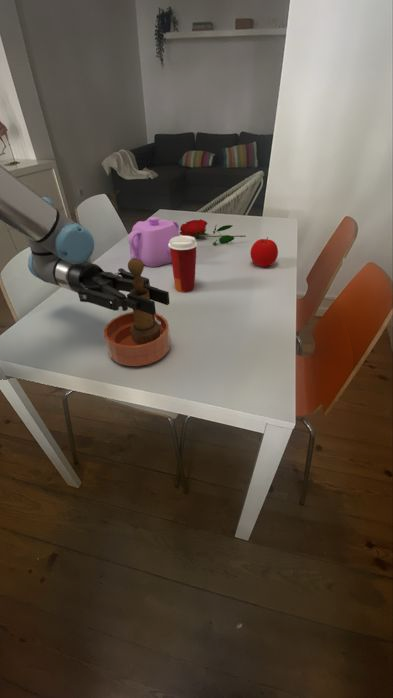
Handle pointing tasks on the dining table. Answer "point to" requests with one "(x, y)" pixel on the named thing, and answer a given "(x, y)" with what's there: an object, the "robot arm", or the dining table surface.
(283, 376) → the dining table surface
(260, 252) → the fruit
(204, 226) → the flower
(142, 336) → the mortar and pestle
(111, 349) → the bowl
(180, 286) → the coffee cup
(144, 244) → the teapot
